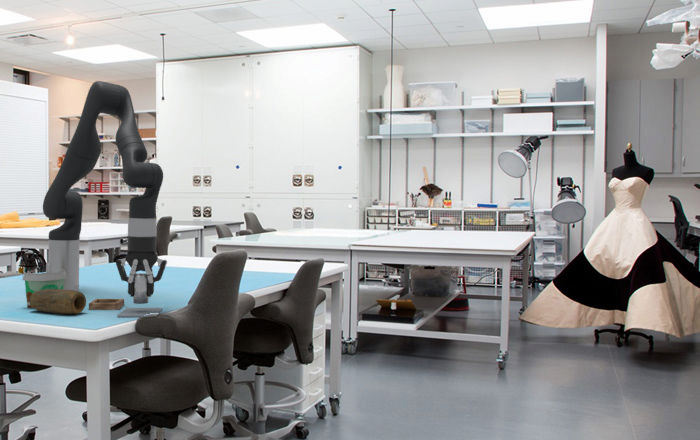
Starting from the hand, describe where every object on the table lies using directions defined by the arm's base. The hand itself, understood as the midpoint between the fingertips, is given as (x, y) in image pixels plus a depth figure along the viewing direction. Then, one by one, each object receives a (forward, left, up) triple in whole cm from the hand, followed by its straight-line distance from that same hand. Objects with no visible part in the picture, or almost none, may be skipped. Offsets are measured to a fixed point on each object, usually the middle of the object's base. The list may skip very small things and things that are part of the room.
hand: (141, 295), depth 170 cm
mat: (0, 0, -5) cm, 5 cm away
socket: (-11, +9, -5) cm, 15 cm away
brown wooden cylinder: (-22, +1, -5) cm, 23 cm away
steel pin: (0, 0, -2) cm, 2 cm away
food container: (-27, +10, -5) cm, 29 cm away
